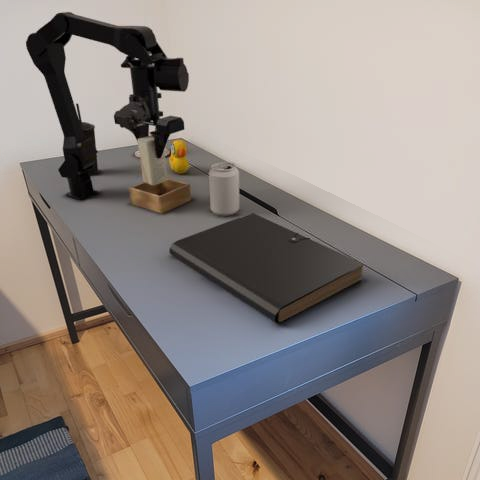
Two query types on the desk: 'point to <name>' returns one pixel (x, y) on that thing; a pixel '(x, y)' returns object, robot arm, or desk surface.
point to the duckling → (179, 157)
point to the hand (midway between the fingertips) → (152, 156)
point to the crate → (171, 198)
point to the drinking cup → (90, 133)
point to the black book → (268, 265)
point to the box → (151, 162)
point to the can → (224, 188)
